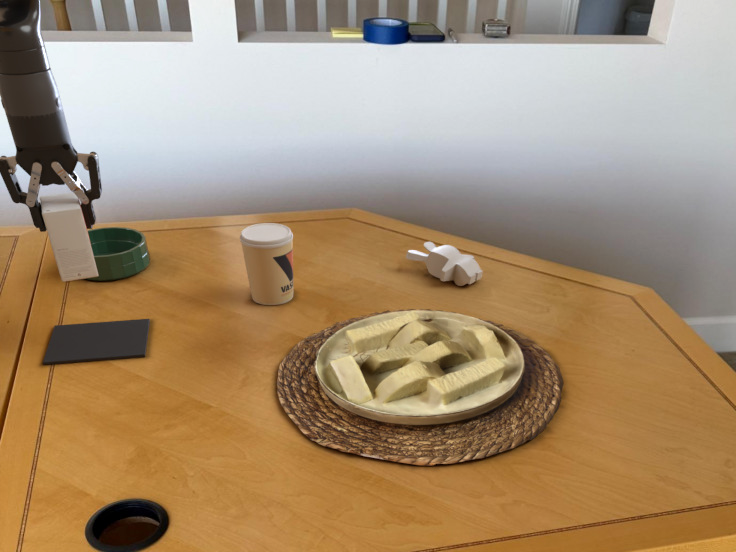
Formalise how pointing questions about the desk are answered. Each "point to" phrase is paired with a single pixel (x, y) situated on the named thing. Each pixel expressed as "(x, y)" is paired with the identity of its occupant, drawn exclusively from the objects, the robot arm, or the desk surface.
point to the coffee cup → (269, 262)
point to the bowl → (118, 252)
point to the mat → (97, 341)
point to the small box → (68, 236)
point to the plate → (419, 387)
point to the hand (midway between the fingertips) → (66, 228)
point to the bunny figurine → (448, 263)
